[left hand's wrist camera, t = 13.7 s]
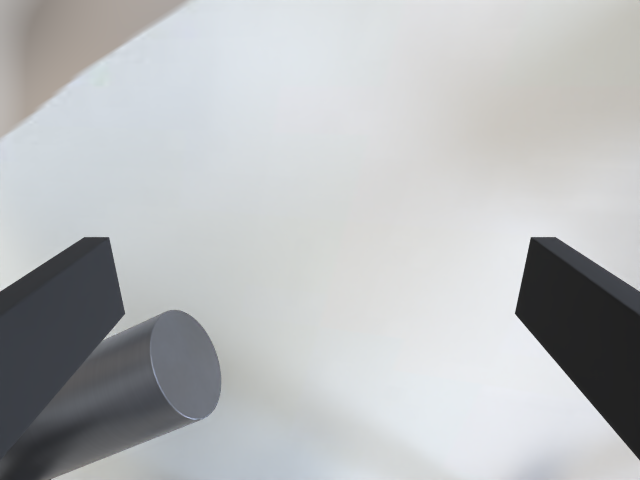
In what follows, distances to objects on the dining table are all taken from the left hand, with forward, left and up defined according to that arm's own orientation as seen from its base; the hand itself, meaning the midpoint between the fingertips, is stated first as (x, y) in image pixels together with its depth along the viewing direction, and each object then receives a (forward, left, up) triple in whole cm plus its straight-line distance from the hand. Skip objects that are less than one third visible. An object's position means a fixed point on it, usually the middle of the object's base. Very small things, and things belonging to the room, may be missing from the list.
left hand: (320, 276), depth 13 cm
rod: (+28, -8, -19) cm, 35 cm away
